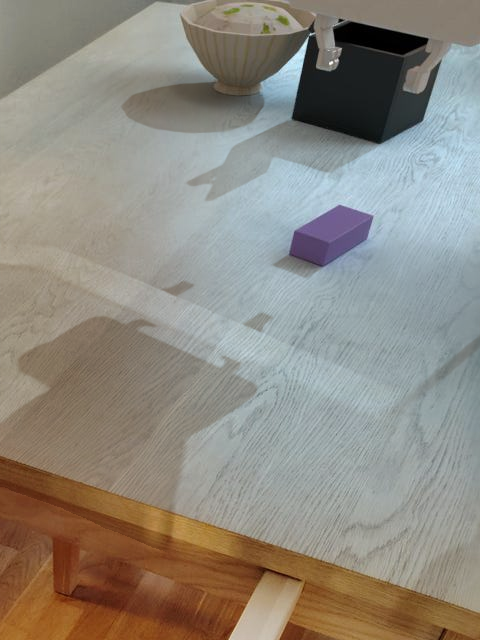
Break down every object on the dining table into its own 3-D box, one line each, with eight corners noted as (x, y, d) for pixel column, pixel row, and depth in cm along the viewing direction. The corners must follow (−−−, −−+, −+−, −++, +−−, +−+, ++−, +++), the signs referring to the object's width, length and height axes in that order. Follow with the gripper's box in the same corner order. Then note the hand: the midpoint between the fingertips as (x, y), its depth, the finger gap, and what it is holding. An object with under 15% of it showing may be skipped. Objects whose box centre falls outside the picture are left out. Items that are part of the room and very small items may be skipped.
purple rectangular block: (333, 227, 100) (339, 204, 98) (367, 238, 98) (374, 215, 96) (288, 254, 96) (293, 230, 94) (323, 266, 94) (329, 242, 92)
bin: (423, 120, 121) (449, 37, 114) (380, 143, 116) (404, 57, 109) (335, 97, 128) (354, 17, 120) (291, 118, 122) (308, 35, 115)
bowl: (172, 64, 138) (181, -14, 131) (300, 68, 136) (317, -11, 129) (169, 107, 126) (179, 23, 118) (310, 113, 124) (329, 28, 116)
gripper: (292, -113, 80) (260, 63, 91) (514, -80, 71) (450, 113, 81) (330, -122, 83) (294, 49, 94) (548, -92, 74) (482, 95, 84)
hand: (368, 79), depth 87 cm, fingers open, 8 cm apart
